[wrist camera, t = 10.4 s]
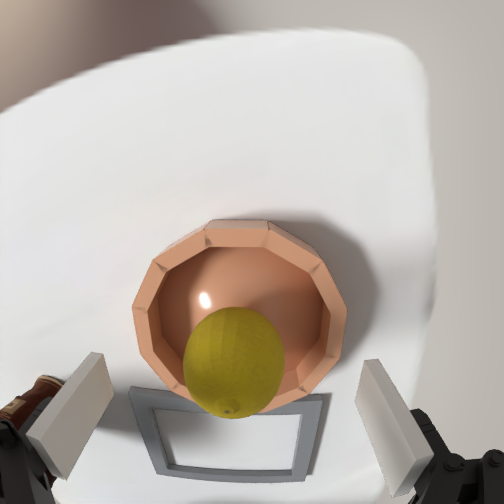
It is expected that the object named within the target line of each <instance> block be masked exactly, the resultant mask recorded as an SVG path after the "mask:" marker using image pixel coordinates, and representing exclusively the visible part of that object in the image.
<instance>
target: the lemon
mask: <svg viewBox="0 0 504 504" xmlns="http://www.w3.org/2000/svg"><path fill="white" fill-rule="evenodd" d="M284 369H285V352H284V347H283V344H282V341H281V338H280V335H279V333H278V331H277V330H276V328H275V327H274V326H273V324H272V323H271V322H270V321H269V320H268V319H267V318H266V317H264V316H263V315H262V314H260V313H258V312H256V311H254V310H252V309H248V308H244V307H227V308H222V309H219V310H217V311H215V312H213V313H211V314H209V315H208V316H206V317H205V318H204V319H203V320H202V321H201V322H199V323H198V325H197V326H196V327H195V329H194V331H193V332H192V334H191V335H190V337H189V339H188V341H187V345H186V349H185V353H184V358H183V371H184V380H185V384H186V387H187V389H188V391H189V393H190V395H191V397H192V398H193V399H194V401H195V402H196V403H197V404H198V405H199V406H200V407H201V408H203V409H204V410H205V411H207V412H209V413H211V414H213V415H215V416H218V417H222V418H228V419H239V418H244V417H249V416H251V415H253V414H256V413H258V412H260V411H261V410H262V409H264V408H265V407H266V406H267V405H268V404H270V402H271V401H272V399H273V398H274V397H275V395H276V394H277V392H278V390H279V387H280V384H281V381H282V378H283V374H284Z"/></svg>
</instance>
